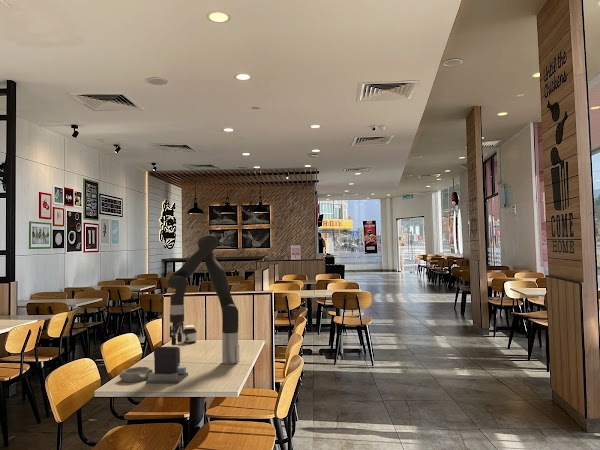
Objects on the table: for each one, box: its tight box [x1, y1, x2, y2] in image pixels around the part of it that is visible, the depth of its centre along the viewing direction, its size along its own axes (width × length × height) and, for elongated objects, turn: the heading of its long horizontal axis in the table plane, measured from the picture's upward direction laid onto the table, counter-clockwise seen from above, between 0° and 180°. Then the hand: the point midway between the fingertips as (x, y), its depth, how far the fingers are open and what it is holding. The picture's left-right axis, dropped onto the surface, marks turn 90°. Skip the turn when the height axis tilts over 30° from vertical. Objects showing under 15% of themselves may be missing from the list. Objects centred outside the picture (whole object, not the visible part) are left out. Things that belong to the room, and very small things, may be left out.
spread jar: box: [177, 324, 198, 345], centre depth 340 cm, size 12×11×12 cm
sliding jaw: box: [177, 346, 187, 374], centre depth 254 cm, size 11×14×11 cm
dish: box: [119, 366, 154, 383], centre depth 246 cm, size 14×14×5 cm
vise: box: [145, 372, 189, 385], centre depth 244 cm, size 16×16×4 cm
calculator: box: [153, 346, 179, 373], centre depth 243 cm, size 11×4×15 cm, turn 87°
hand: (176, 343), depth 259 cm, fingers open, 8 cm apart
